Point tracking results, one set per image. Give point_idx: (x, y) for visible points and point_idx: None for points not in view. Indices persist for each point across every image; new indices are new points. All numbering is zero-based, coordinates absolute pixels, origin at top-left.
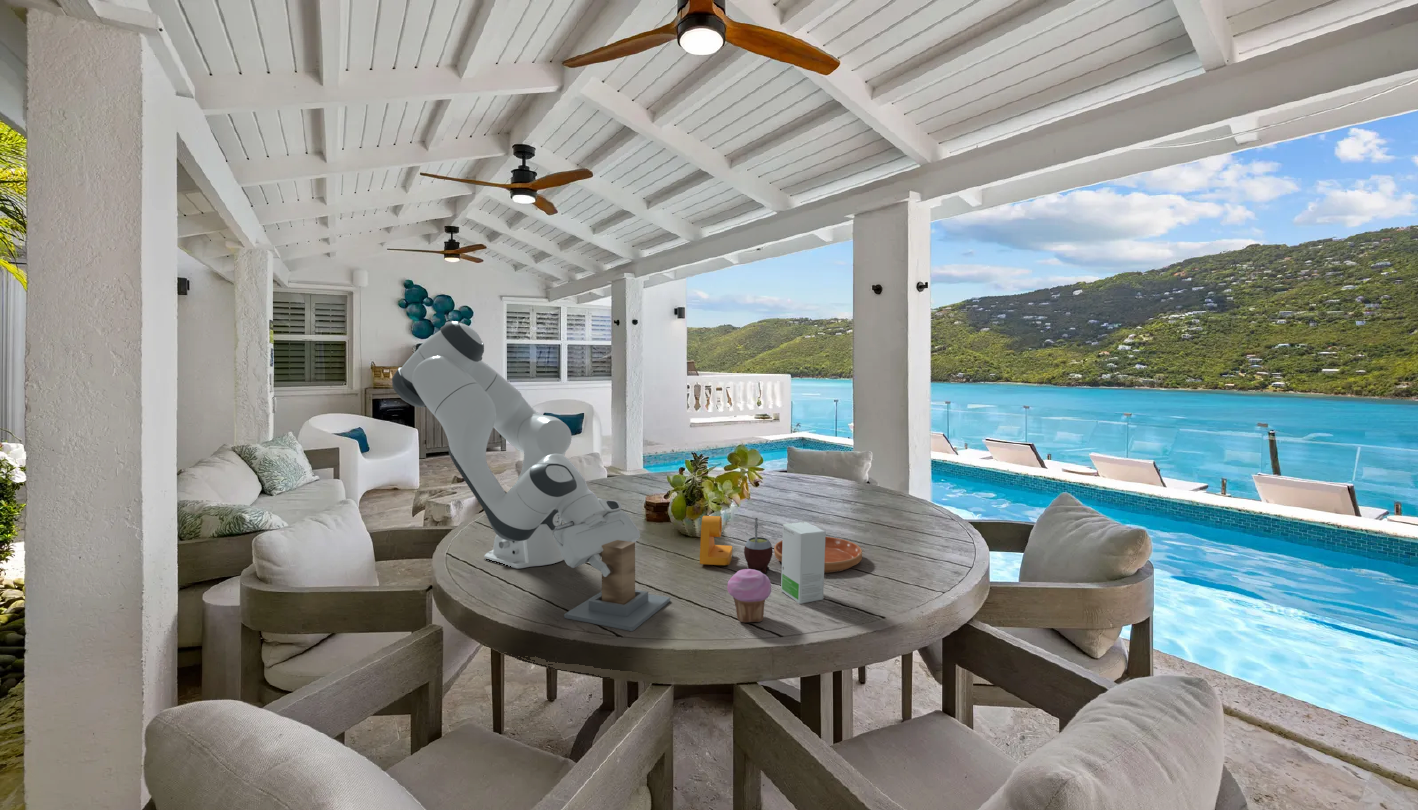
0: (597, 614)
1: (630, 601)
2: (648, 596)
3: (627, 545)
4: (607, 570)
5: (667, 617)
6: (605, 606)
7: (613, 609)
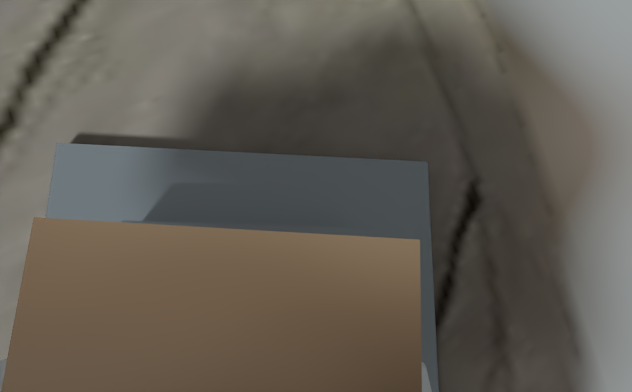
0: None
1: None
2: None
3: (246, 241)
4: (427, 377)
5: (248, 90)
6: None
7: None
